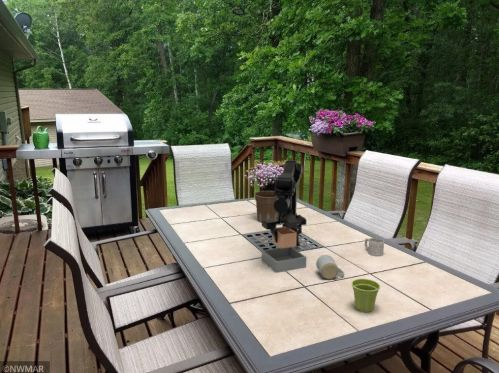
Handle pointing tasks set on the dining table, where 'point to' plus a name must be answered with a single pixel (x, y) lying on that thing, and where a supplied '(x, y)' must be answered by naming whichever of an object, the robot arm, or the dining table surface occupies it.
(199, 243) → the dining table surface
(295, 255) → the big crate
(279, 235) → the small crate
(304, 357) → the dining table surface
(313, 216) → the dining table surface
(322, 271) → the ceramic mug
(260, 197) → the plant pot
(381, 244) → the mug
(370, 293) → the plant pot
